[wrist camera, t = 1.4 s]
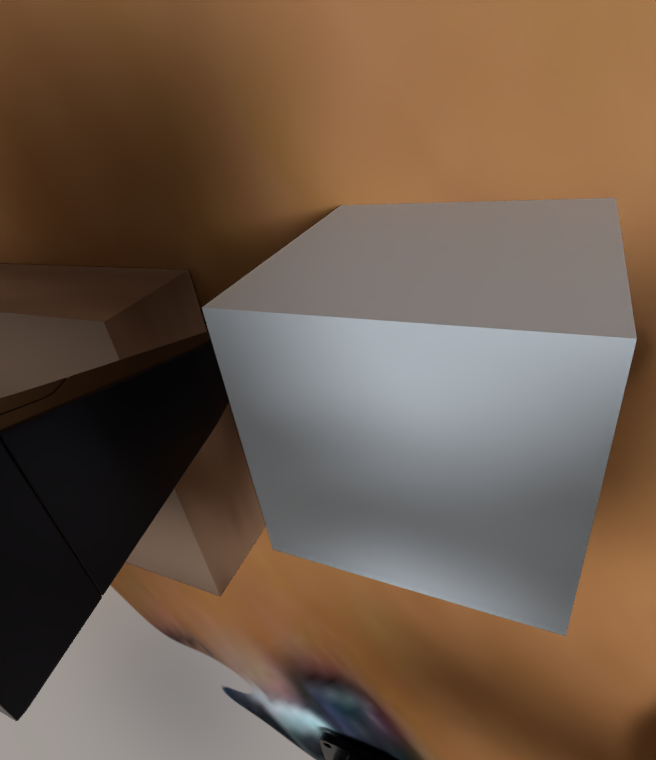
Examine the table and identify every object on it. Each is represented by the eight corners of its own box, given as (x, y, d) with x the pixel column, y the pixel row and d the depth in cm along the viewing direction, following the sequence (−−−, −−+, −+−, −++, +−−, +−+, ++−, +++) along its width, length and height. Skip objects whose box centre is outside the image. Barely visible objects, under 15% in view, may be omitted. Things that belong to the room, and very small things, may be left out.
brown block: (265, 526, 18) (220, 596, 16) (77, 474, 22) (19, 524, 20) (188, 269, 13) (103, 322, 11) (-42, 262, 17) (-139, 298, 15)
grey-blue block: (573, 427, 11) (565, 636, 7) (363, 398, 13) (272, 549, 9) (615, 196, 8) (636, 338, 5) (341, 204, 10) (202, 307, 7)
